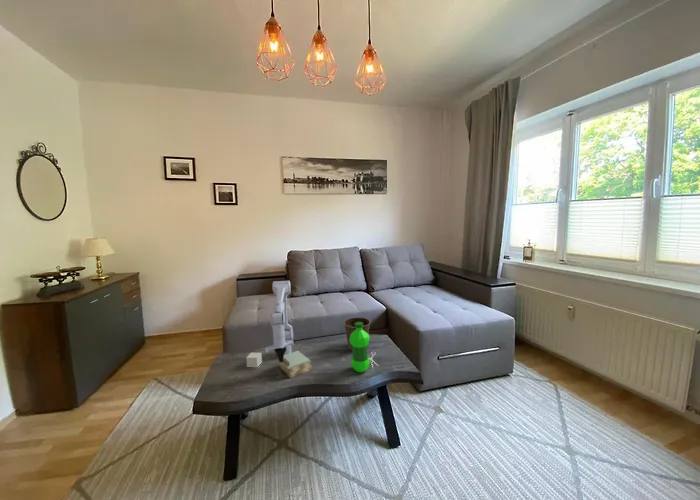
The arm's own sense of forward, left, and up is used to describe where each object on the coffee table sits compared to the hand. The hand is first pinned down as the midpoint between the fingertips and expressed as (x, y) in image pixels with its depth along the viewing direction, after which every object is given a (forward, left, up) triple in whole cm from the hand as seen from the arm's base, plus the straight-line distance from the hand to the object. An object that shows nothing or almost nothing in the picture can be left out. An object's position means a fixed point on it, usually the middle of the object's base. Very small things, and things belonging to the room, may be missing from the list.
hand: (280, 361), depth 148 cm
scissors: (+18, +45, -7) cm, 49 cm away
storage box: (0, +8, -7) cm, 10 cm away
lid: (0, +7, -2) cm, 7 cm away
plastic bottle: (+23, +34, -7) cm, 41 cm away
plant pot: (+1, +49, -7) cm, 49 cm away
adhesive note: (-18, -8, -7) cm, 21 cm away
